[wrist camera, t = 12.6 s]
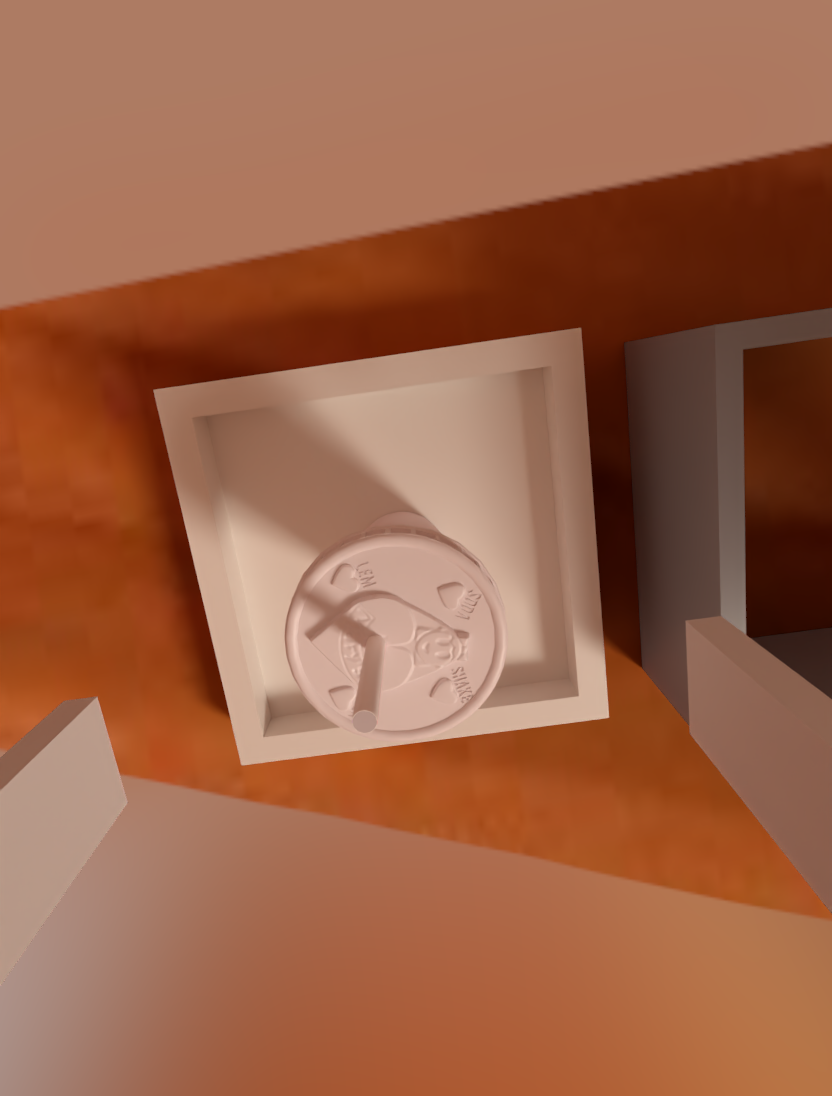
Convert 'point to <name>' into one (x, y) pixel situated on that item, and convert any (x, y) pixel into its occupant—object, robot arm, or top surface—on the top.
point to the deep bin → (701, 492)
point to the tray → (386, 487)
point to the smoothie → (396, 631)
